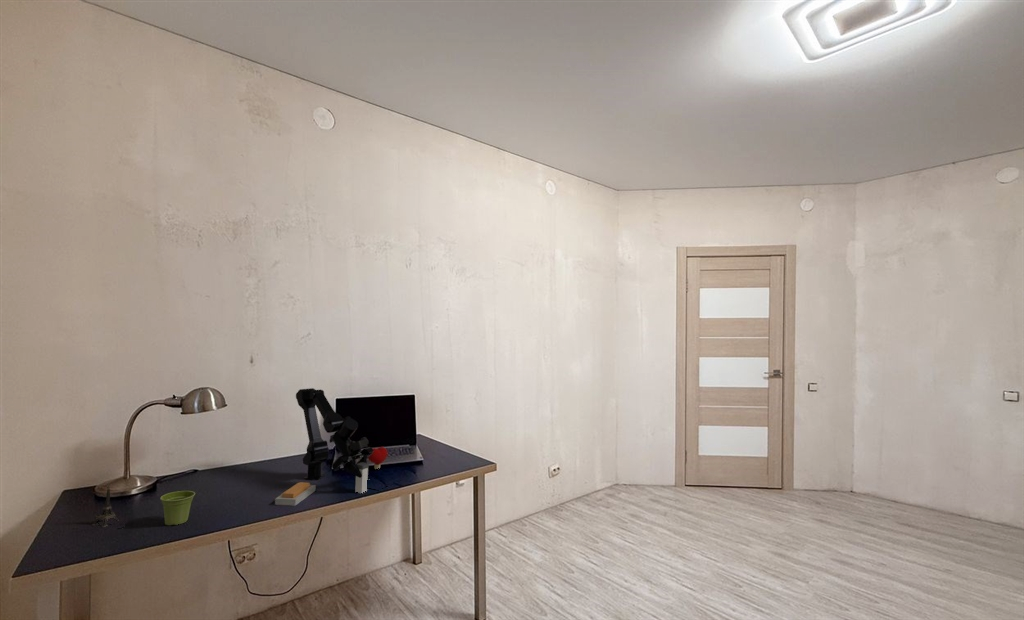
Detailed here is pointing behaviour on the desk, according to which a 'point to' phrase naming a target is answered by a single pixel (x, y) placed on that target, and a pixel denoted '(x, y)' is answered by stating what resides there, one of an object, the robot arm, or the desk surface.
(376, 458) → the red heart figurine
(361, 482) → the white tall block
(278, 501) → the button housing
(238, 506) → the desk surface
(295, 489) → the button
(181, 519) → the plant pot
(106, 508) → the eiffel tower figurine
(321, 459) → the robot arm
